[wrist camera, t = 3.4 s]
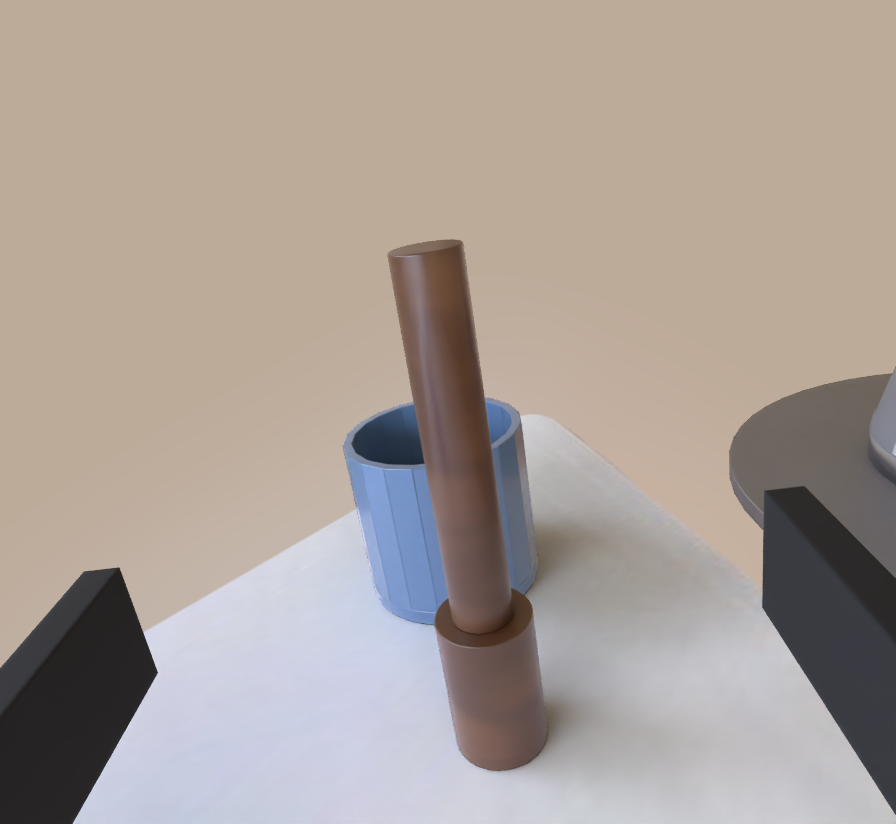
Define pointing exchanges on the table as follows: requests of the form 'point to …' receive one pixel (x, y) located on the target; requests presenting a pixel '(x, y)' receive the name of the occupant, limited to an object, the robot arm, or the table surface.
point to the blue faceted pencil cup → (429, 507)
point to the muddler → (467, 516)
